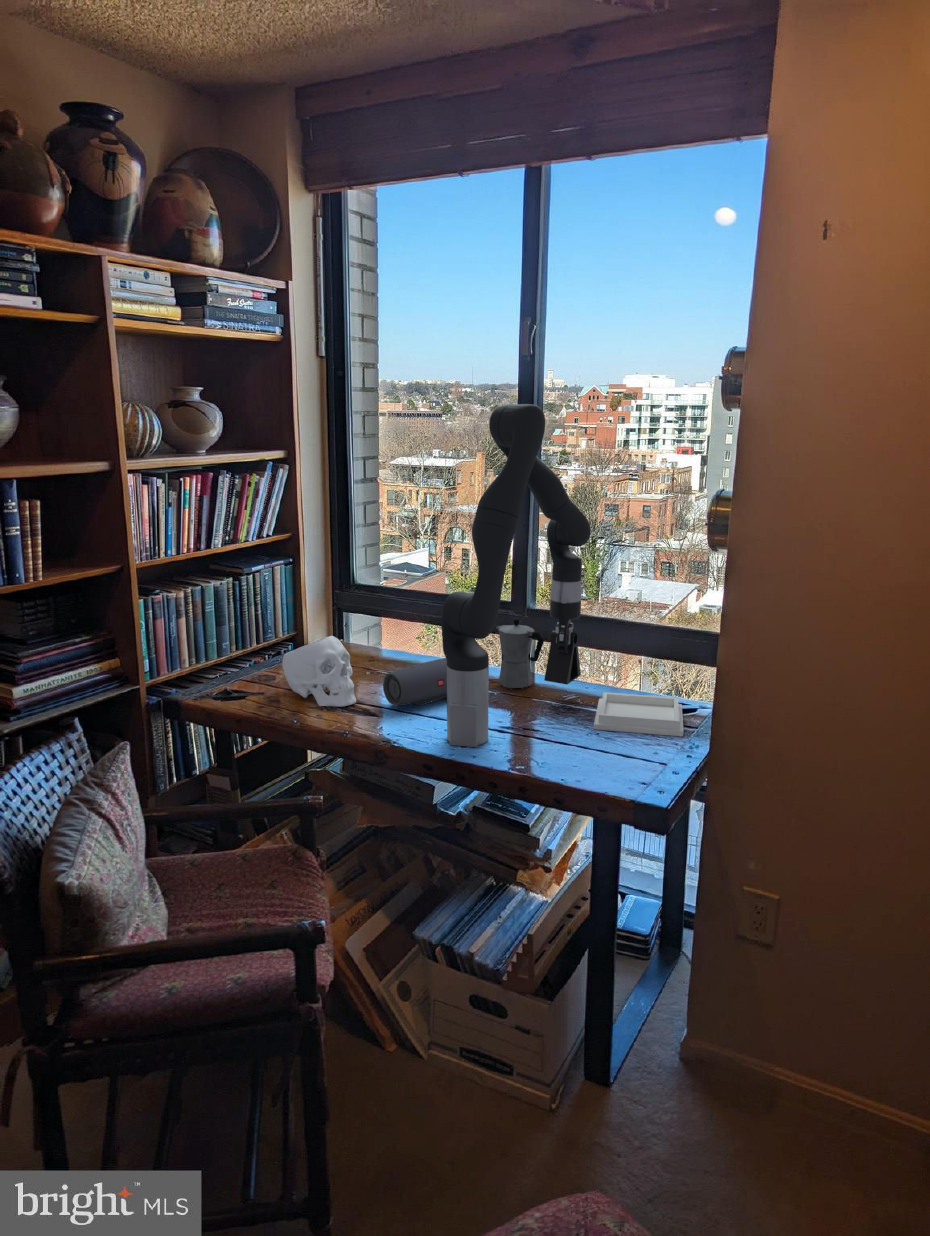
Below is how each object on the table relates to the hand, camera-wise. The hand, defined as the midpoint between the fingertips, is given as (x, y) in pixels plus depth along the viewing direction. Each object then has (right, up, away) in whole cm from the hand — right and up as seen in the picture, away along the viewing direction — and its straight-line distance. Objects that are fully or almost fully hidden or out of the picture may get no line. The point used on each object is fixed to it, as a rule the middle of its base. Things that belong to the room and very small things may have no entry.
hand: (562, 665), depth 209 cm
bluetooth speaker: (-33, -9, +4) cm, 35 cm away
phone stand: (0, -3, +1) cm, 3 cm away
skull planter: (-61, -9, +6) cm, 62 cm away
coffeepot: (-10, -6, +16) cm, 20 cm away
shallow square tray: (+17, -12, -9) cm, 23 cm away
